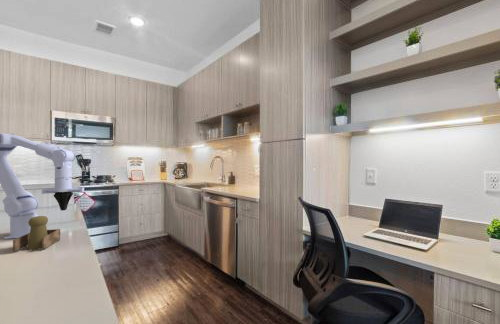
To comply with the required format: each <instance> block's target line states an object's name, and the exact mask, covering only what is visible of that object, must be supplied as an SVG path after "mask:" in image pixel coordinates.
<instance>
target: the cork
mask: <svg viewBox="0 0 500 324" xmlns="http://www.w3.org/2000/svg"><path fill="white" fill-rule="evenodd" d="M48 222H49V218H48V217H47V216H45V215H38V216H36V217H33V218H31V219H30V220H29V225H30V226H31V229H30V234H29V240H28V245H27V246H26V247H27V248H26V249H27V250H28V251H36V250H42V238H43V237H45V236H47V235H48V233H47V230H48V229H47V224H48Z"/></svg>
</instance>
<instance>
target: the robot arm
mask: <svg viewBox="0 0 500 324" xmlns="http://www.w3.org/2000/svg"><path fill="white" fill-rule="evenodd" d="M17 147H23V148H25V149H29V150H31V151H34V152H35V154H36V155H38V156H40V157H43V158H45V159H48V160H50V161H52V163H53V166H54V187H52V188H48V187H47V188H42V189H41V194H53V197H54V199H55V200H56V202H57V204H58V207H59V210H60V211H66V210H68V205H69V202H70V200H71V198H72V197H73V194H74V193H85V187H73V162H74V161H75V158H76V154H75V152H74V151H72V150H71V149H63V147H62V146H55V145H54V144H52V143H51V142H49V141H46V142H40V143H39V142H37V141H34V140H31V139H29V138H26V137H24V136H20V135H17V134H14V133H3V132H0V185H1V188H2V190H3V191H4V193H5V195H6V196H5V197H4V198H3V199H2V203H3V207H4V208H3V209H4V212H5V213H6V214H7V215H8V217H9V231H10V232H9V235H8V236H5V237H3V239H4V240H6V239H7V240H9V239H17V238H19V237H21V236H23V235H26V234H28V233H30V229H31V226H30V225H29V220H30V219H31V218H33V217H36V216H39V215H38V214H37V213H36V210H37V209H38V208H39V206H40V202H39V200H38V199H37V198H36V197H35V196H34V195H33V194H32V193H31V192H30V191H27V190H25V189H24V186H23V185H22V184H21V181H20V180H19V178H18V176H17V175H16V174H17V173H16V172H15V171H14V169H13V167H12V166H11V163H10V161H9V160H8V157H7V156H9V155H10V154H11V153H12V152H14V150H15V149H16V148H17Z"/></svg>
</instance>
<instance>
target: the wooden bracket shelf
mask: <svg viewBox="0 0 500 324" xmlns="http://www.w3.org/2000/svg"><path fill="white" fill-rule="evenodd" d="M47 233H48V235H47V236H45V237H43V238H42V249H41V250H46V249H47V248H48V247H50V246H52V245H54V244H55V243H57V242H59V241H60V240H61V228H56V229H47ZM29 234H30V233H28V234H26V235H23V236H21V237H19V238H14V239H12V253H17V252H19V251H20V250H22V249H23V248H25V247H27V246H28V240H29Z"/></svg>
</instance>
